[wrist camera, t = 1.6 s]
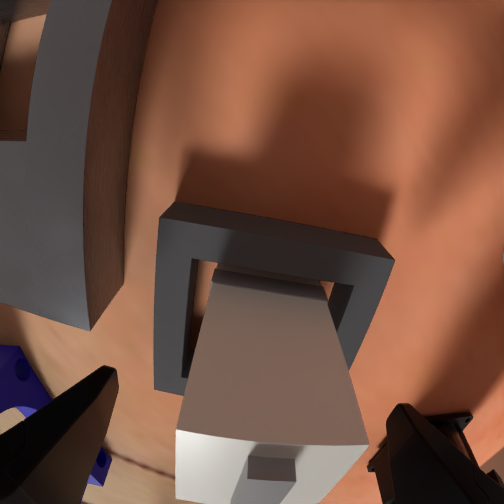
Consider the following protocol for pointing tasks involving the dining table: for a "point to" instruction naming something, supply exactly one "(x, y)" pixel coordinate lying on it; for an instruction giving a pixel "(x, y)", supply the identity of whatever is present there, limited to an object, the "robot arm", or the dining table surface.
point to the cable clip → (34, 399)
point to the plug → (266, 396)
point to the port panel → (71, 158)
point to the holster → (261, 258)
